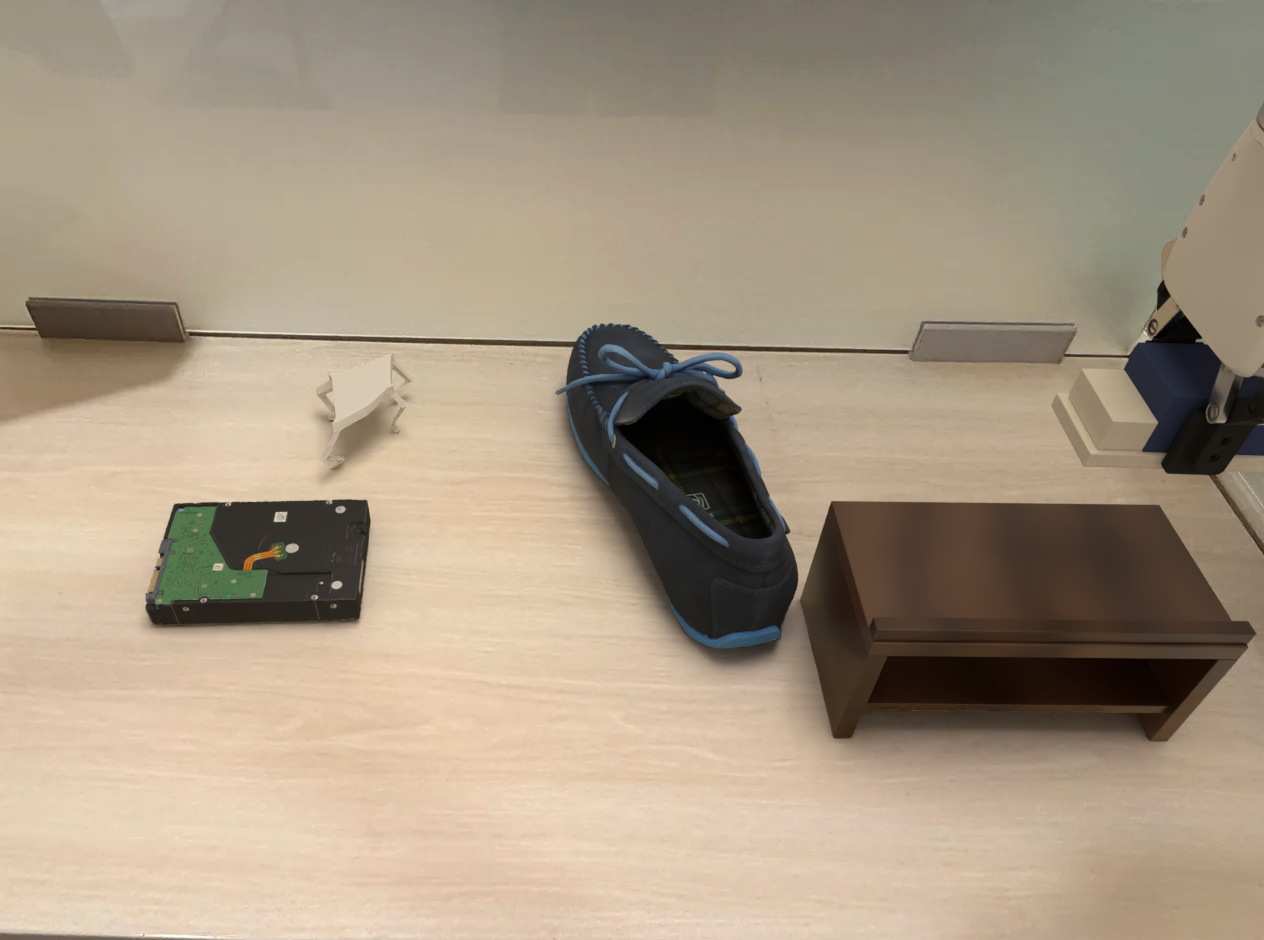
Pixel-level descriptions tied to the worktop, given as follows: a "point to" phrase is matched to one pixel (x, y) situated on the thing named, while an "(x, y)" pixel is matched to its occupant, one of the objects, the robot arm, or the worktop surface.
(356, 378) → the cream bent-legged table
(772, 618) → the moccasin
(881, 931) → the worktop surface
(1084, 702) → the shoe shelf
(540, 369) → the worktop surface
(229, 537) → the disk drive
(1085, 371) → the navy box on tray
